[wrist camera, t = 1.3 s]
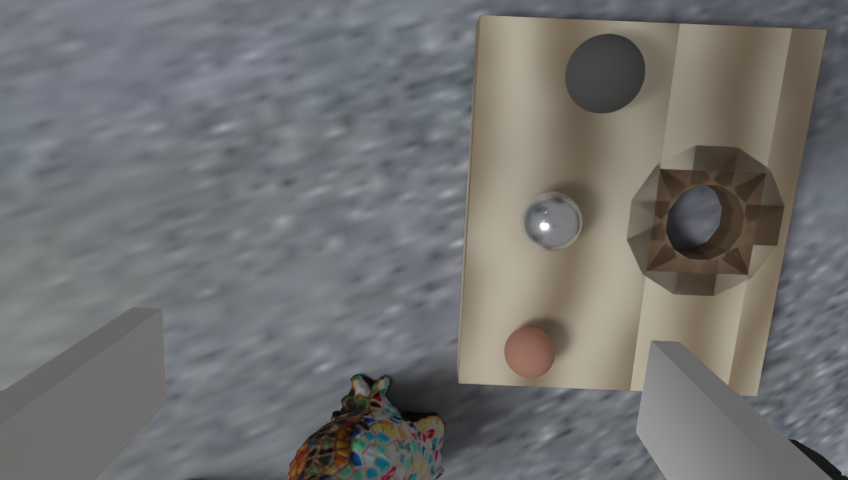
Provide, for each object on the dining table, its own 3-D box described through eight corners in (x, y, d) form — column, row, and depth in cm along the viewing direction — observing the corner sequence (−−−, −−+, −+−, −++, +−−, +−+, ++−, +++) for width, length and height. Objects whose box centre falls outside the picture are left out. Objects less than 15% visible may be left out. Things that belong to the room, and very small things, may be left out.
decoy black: (560, 37, 30) (580, 26, 26) (633, 40, 30) (663, 29, 26) (554, 112, 31) (572, 111, 27) (624, 115, 31) (652, 114, 27)
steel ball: (518, 186, 32) (528, 194, 29) (576, 188, 32) (593, 197, 29) (513, 243, 33) (523, 257, 29) (570, 245, 33) (586, 259, 29)
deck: (456, 365, 37) (458, 383, 35) (476, 22, 32) (480, 15, 30) (735, 377, 37) (756, 395, 35) (797, 36, 32) (827, 29, 30)
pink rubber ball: (503, 318, 34) (510, 337, 31) (551, 320, 34) (562, 339, 31) (499, 363, 34) (505, 386, 31) (547, 365, 34) (557, 388, 31)
